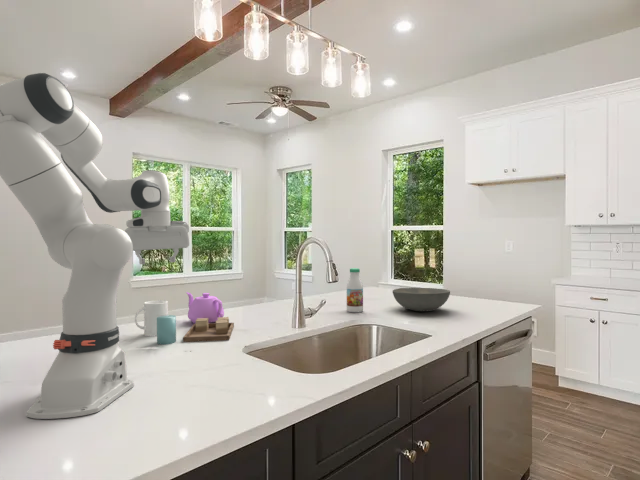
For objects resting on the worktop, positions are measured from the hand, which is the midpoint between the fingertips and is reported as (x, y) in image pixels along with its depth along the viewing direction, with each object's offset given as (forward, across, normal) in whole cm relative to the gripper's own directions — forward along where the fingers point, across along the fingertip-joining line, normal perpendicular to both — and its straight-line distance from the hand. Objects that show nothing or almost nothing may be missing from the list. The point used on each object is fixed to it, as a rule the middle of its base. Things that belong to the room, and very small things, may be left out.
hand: (157, 263), depth 131 cm
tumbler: (+27, -2, 0) cm, 27 cm away
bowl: (+30, -114, +7) cm, 118 cm away
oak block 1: (+27, -16, -10) cm, 33 cm away
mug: (+27, +1, -14) cm, 31 cm away
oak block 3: (+27, -21, -2) cm, 34 cm away
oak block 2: (+27, -24, -7) cm, 37 cm away
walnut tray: (+28, -17, -2) cm, 33 cm away
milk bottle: (+30, -87, -9) cm, 93 cm away
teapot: (+28, -21, -23) cm, 42 cm away
